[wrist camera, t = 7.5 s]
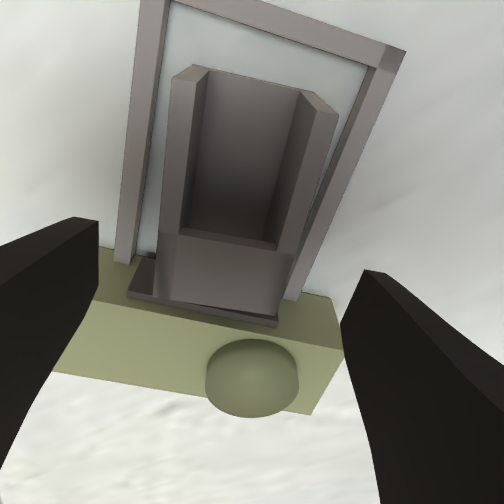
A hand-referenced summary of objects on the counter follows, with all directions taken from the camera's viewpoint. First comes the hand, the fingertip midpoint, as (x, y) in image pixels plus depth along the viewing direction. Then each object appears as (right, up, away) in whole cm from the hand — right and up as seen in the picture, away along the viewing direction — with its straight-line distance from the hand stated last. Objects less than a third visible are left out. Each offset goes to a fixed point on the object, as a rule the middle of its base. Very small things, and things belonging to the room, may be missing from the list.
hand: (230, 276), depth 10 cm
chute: (0, +4, +7) cm, 8 cm away
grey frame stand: (-1, +3, +8) cm, 8 cm away
